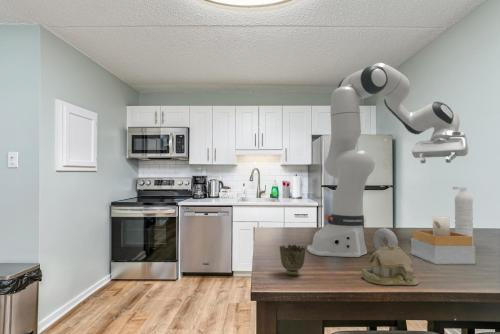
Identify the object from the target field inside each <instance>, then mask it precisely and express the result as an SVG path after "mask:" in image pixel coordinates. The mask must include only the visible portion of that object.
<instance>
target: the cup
mask: <svg viewBox="0 0 500 334" xmlns="http://www.w3.org/2000/svg"><path fill="white" fill-rule="evenodd" d="M306 251H307V247H305V246H301V245H298V246H297V244H293V245H291V244H290V243H289V244H288V245H287V247H285V245H280V246H279V253H280V261H281V265H282V267H283V268H284V269H285V270H286V271H285V274H286V275H287V276H289V277H297V276H298V275H299V273H300V272H299V270H301V269H302V268H303V266H304V264H305V263H304V262H305V258H306V256H305V255H306Z"/></svg>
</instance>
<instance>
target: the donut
mask: <svg viewBox="0 0 500 334" xmlns="http://www.w3.org/2000/svg"><path fill="white" fill-rule="evenodd" d="M372 239H373V240H372V242H373V245H374V248H375V250H376V251H377V250H378V249H379V248H381V247H388V244H393V245H394V247H399V241H398V240H399V239H398V237H397V235H396V233H394V232H393V230H391V229H390V228H387V227H386V228H385V227H381V228H379V229H377V230H376V231H375V232H374V235H373V238H372ZM383 239H386V240H387V245H385V244H384V241H383Z"/></svg>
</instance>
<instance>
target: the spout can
mask: <svg viewBox="0 0 500 334" xmlns="http://www.w3.org/2000/svg"><path fill="white" fill-rule="evenodd" d="M450 221H451V220H450V217H448V216H438V215H435V216H432V230H433V235H434V236H450V231H451V224H450Z"/></svg>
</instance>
